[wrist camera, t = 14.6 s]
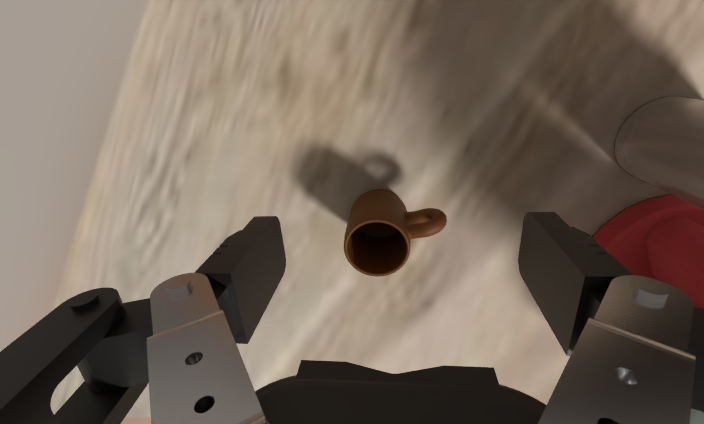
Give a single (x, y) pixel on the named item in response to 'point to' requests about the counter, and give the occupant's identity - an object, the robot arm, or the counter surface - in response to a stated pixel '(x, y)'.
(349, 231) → the mug
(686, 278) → the stand mixer
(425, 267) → the counter surface
